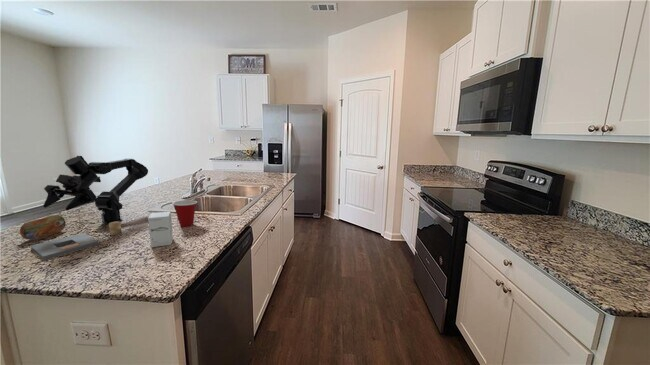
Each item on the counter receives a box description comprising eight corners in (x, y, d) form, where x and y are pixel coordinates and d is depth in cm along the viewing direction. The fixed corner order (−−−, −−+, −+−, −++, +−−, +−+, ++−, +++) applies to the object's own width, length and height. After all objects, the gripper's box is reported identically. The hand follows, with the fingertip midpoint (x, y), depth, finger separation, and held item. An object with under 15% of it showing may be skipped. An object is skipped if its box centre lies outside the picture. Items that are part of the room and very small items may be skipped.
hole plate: (83, 236, 117) (83, 232, 117) (98, 244, 109) (98, 240, 108) (31, 249, 103) (30, 245, 103) (43, 260, 95) (42, 255, 95)
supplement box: (150, 248, 106) (146, 218, 104) (154, 241, 113) (150, 212, 110) (171, 245, 109) (168, 216, 107) (173, 238, 116) (170, 210, 113)
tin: (26, 243, 109) (21, 224, 107) (20, 242, 110) (16, 223, 108) (67, 230, 123) (64, 212, 122) (62, 229, 124) (59, 212, 122)
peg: (119, 231, 123) (117, 220, 122) (123, 232, 121) (121, 222, 120) (108, 233, 120) (107, 223, 119) (112, 235, 118) (111, 225, 117)
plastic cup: (203, 221, 137) (201, 199, 135) (190, 229, 126) (188, 205, 124) (183, 220, 138) (181, 198, 136) (169, 228, 127) (167, 204, 125)
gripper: (51, 166, 114) (18, 192, 103) (94, 171, 114) (65, 197, 103) (66, 184, 122) (37, 210, 111) (106, 189, 122) (81, 215, 111)
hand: (55, 208), depth 109 cm, fingers open, 9 cm apart
